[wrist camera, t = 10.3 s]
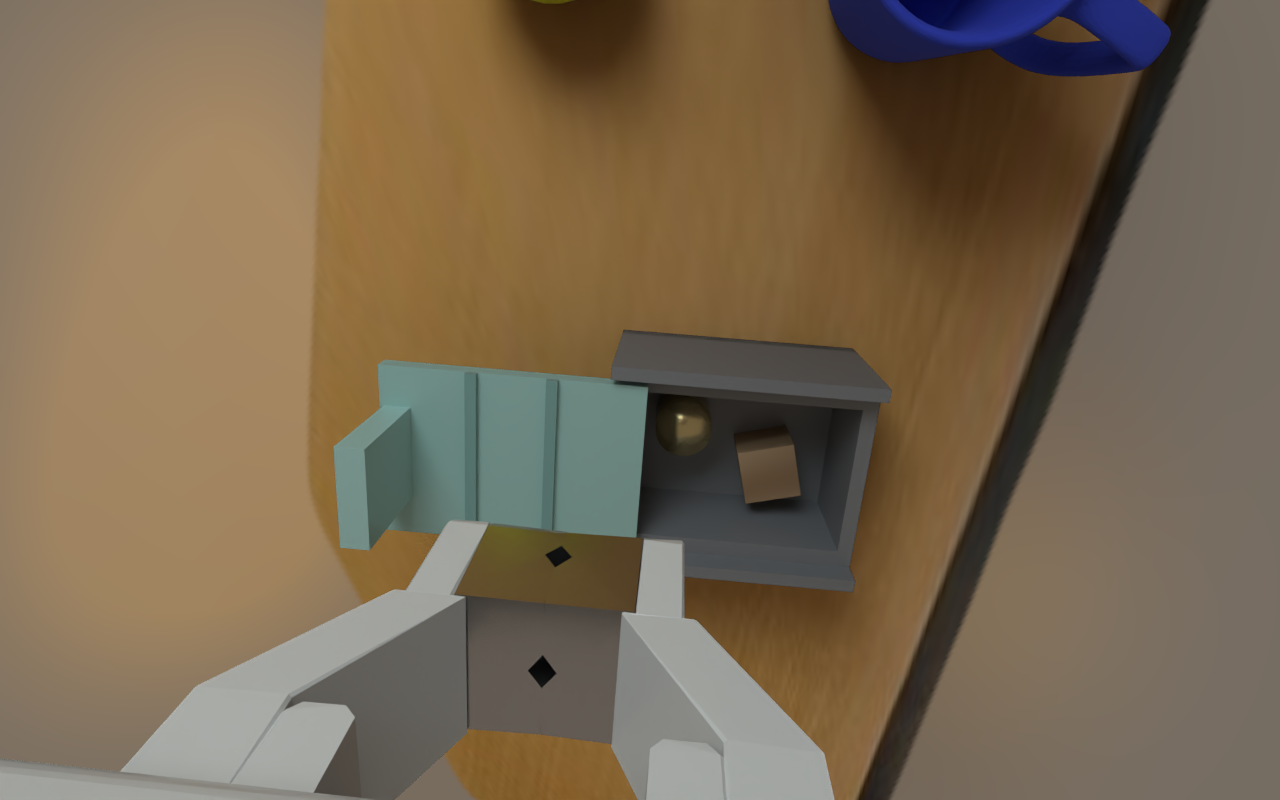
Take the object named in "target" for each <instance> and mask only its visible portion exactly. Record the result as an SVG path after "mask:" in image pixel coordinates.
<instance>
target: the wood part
mask: <svg viewBox="0 0 1280 800" xmlns="http://www.w3.org/2000/svg"><path fill="white" fill-rule="evenodd" d="M734 440H735V446H736V452H737V458H738V464H739V471H740V477H741V483H742V488H743V493H744V498H745V503H746V504H747V503H754V502H760V501H767V500H774V499H781V498H787V497H794V496H801V493H800V486H799V479H798V471H797V464H796V457H795V449H794V444H793V441H792V439H791V437H790V434H789V432H788V429H787V427H786V425H784V426H778V427H772V428H765V429H759V430H753V431H747V432H740V433H734Z"/></svg>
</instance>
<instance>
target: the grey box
mask: <svg viewBox="0 0 1280 800" xmlns="http://www.w3.org/2000/svg"><path fill="white" fill-rule="evenodd" d="M611 380H619V381H631V382H643V383H649V385H648V397H647V410H646V423H645V435H644V448H643V460H642V473H641V485H640V498H639V511H638V523H637V536H636V538H643V544H644V538H647V539H665V540H682V541H683V543H684V577H691V578H702V579H713V580H724V581H735V582H746V583H757V584H768V585H779V586H790V587H801V588H812V589H823V590H834V591H845V592H853V590H854V585H855V579H854V577H853V575H852V572H851V570H850V568H849V567H850V562H851V556H852V551H853V546H854V540H855V535H856V530H857V524H858V519H859V514H860V508H861V503H862V498H863V493H864V487H865V482H866V477H867V471H868V466H869V461H870V455H871V450H872V445H873V439H874V434H875V429H876V423H877V418H878V413H879V407H880V402H881V403H890V398H891V392H892V389H891V388H890V387H889V386H888V385H887V384H886V383H885V382H884V381H883V380H882V379H881V378H880V377H879V376H878V375H877V374H876V372H875V371H874V370H873V369H872V368H871V367H870V366H869V365H868V364H867V363H866V362H865V361H864V360H863V359H862V358H861V357H860V356H859V354H858V353H857V352H856V351H855V350H854V349H851V348H839V347H827V346H815V345H803V344H790V343H778V342H766V341H754V340H742V339H730V338H717V337H705V336H693V335H681V334H669V333H657V332H644V331H632V330H624V331H623V334H622V337H621V340H620V343H619V346H618V349H617V352H616V355H615V358H614V361H613V364H612V370H611ZM664 394H676V395H688V396H699V397H705V398H706V399H707V401H708V404H709V408H710V416H711V424H712V434H711V438H710V440H709V442H708V444H707V445H706V446H705V447H704V448H703V449H702V450H701V451H699V452H698V453H696V454H693V455H689V456H679V455H674V454H672V453H670V452H668V451H667V450H665V449H664V448H663V447H662V446H661V445H660V443H659V442H658V439H657V437H656V432H655V427H656V416H657V407H658V403H659V401H660V399H661V397H662V396H663V395H664ZM784 425H786V427H787V429H788V432H789V434H790V437H791V439H792V441H793V444H794V449H795V457H796V464H797V471H798V479H799V486H800V493H801V496H794V497H787V498H781V499H774V500H767V501H760V502H754V503H747V504H746V503H745V498H744V493H743V488H742V483H741V477H740V471H739V464H738V458H737V452H736V446H735V440H734V433H740V432H747V431H753V430H759V429H765V428H772V427H778V426H784ZM642 550H643V546H642ZM641 561H642V559H641ZM640 571H641V570H640Z"/></svg>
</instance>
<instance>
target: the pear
mask: <svg viewBox="0 0 1280 800" xmlns="http://www.w3.org/2000/svg"><path fill="white" fill-rule="evenodd" d="M531 1H535V2H539V3H544V4H561V3H566V2H570V1H574V0H531Z"/></svg>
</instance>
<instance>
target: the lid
mask: <svg viewBox="0 0 1280 800" xmlns="http://www.w3.org/2000/svg"><path fill="white" fill-rule="evenodd" d="M378 378H379V401H380V409H379V410H378V411H377V412H375V413H374V414H373V415H372V416H370V417H369V418H368V419H367V420H366V421H364V422H363V423H362V424H361V425H360V426H358V427H357V428H356V429H355V430H353V431H352V432H351V433H350V434H349V435H347V436H346V437H345V438H344V439H342V440H341V441H340V442H339V443H338V444H336V445H335V446H334V461H335V476H336V491H337V506H338V520H339V535H340V548H350V549H361V550H370V549H371V548H372V547H373V545H374V544H375V543H376V542H377V540H378V539H379V538H380V537H381V535H382V534H383V533H384V532H385V530H386V529H388V530H399V531H410V532H421V533H433V534H441V532H442V530H443V529H444V527H445V526H446V524H447V523H448V522H449V521H451V520H454V519H456V520H469V521H482V522H489V523H490V524H492V523H497V524H505V525H514V526H522V527H531V528H539V529H548V530H557V531H565V532H568V533H579V534H593V535H607V536H621V537H635V538H636V536H637V523H638V511H639V498H640V485H641V473H642V460H643V448H644V435H645V423H646V410H647V397H648V385H649V383H643V382H631V381H619V380H611V379H608V378H596V377H584V376H572V375H560V374H548V373H537V372H525V371H513V370H501V369H489V368H477V367H465V366H453V365H441V364H429V363H417V362H406V361H394V360H384V361H382V362H381V363H379V364H378Z"/></svg>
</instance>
